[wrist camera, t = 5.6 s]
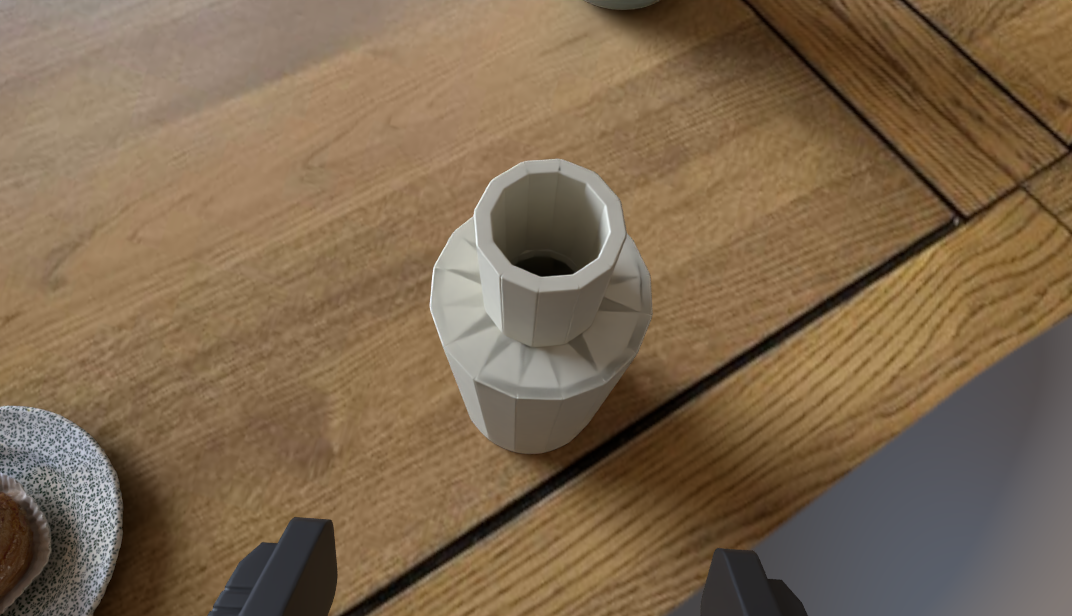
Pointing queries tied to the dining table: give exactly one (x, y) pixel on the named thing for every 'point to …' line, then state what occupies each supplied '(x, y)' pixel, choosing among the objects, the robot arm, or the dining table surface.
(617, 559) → the dining table surface
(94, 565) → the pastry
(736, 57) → the dining table surface
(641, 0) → the cup
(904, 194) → the dining table surface
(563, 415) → the white faceted vase
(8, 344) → the dining table surface
